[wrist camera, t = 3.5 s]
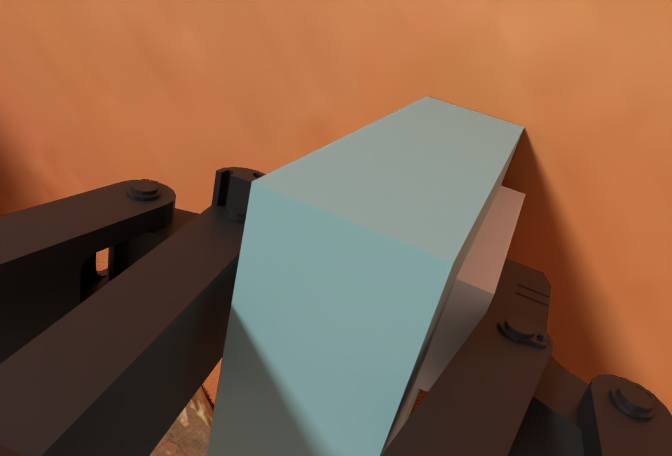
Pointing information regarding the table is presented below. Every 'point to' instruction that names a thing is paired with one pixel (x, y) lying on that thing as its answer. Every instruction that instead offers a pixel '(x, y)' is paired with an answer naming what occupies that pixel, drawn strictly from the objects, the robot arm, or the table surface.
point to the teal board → (352, 280)
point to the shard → (188, 430)
